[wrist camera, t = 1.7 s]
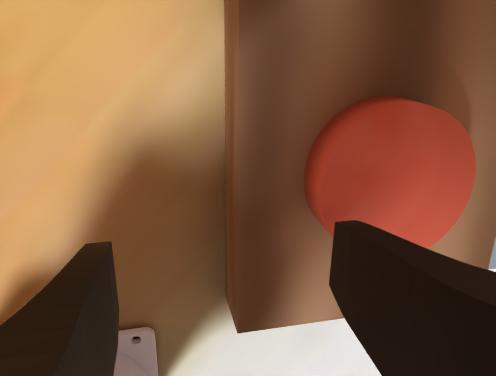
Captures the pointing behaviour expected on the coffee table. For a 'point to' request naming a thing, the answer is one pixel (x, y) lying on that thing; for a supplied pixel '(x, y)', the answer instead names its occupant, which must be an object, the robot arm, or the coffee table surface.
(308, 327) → the coffee table surface
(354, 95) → the board
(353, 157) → the red ball
